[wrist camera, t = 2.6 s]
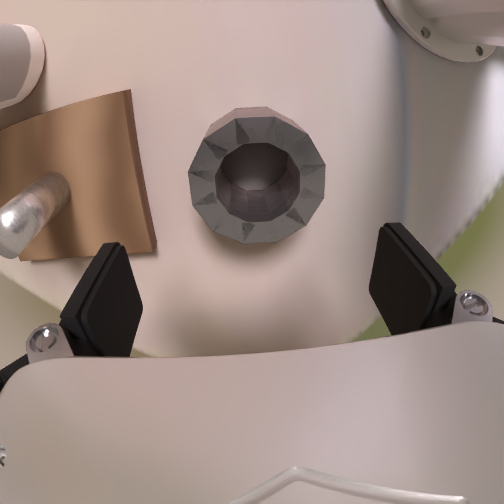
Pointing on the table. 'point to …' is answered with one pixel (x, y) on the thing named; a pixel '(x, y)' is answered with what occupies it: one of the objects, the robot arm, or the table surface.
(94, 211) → the walnut base
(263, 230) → the ring
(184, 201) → the table surface
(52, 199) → the steel shaft
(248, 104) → the table surface
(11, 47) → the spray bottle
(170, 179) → the table surface
